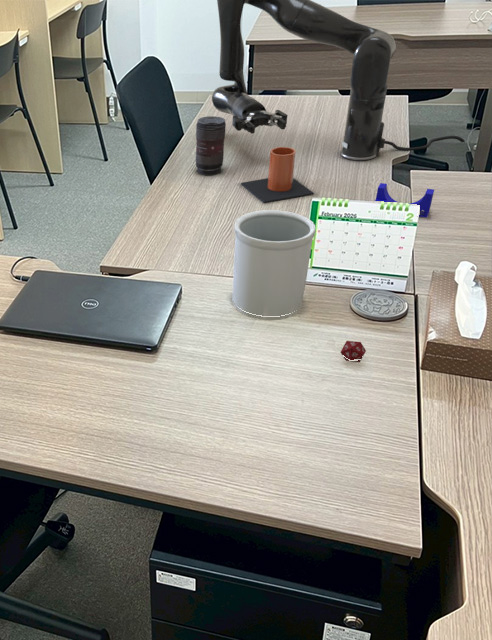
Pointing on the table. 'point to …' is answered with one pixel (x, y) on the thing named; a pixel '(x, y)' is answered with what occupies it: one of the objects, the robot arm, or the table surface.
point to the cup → (281, 169)
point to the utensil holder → (271, 263)
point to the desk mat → (267, 195)
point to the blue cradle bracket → (423, 202)
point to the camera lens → (210, 144)
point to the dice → (353, 350)
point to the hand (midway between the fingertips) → (268, 127)
